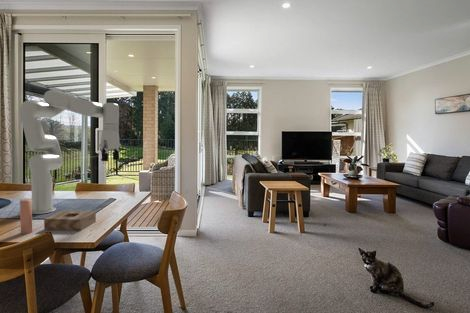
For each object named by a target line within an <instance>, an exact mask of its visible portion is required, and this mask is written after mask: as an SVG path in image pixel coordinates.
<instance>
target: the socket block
mask: <svg viewBox="0 0 470 313" xmlns="http://www.w3.org/2000/svg"><path fill="white" fill-rule="evenodd" d="M43 223H44V224H43V229H44V231H71V232H72V231H76V232H82V231H83V230H84V229H87V228H88V227H89V226H91V225H92V224H94V223H96V211H86V210H85V211H83V210H82V211H81V210H78V211H77V210H62V211H59V212H56V213H55V214H51V215H50V216H48V217H44V219H43Z"/></svg>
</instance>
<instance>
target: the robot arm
mask: <svg viewBox="0 0 470 313" xmlns="http://www.w3.org/2000/svg"><path fill="white" fill-rule="evenodd" d="M43 100H44V101H41V100H35V99H34V100H31V99H30V100H26V101H25V100H24V101H23V102H22V103H21V104H20V106H19V108H18V116H19V121H20V123H21V125H22V128H23V132H24V136H25V140H26V145H27V147H28V149H29V150H30V151H32V152H38V153H37V154H33V155H31V157H30V158H29V160H28V167H29V171H30V179H31V183H30V184H31V185H30V186H31V200H32V215H42V214H50V213H53V212H55V211H57V207H55V206H54V205H53V201H54V200H53V198H54V197H53V196H54V195H53V177H52V173H51V172H50V171H55V170H58V169H60V168H61V167H63V164H64V163H63V162H64V160H63V159H64V158H63V154H62V150H61V146H60V142H59V140H58V138H57V137H56V136H54V135H52V134H46V133H45V132H44V128H43V125H42V123H41V122H40V120H39V119H38V117H39V118H48V119H49V118H50V119H51V118H54V117H56V116H58V115H59V114H61V113H63V112H64V111H69V112H72V113H75V114H78V115H82V116H86V117H93V118H94V117H95V118H102V129H101V135H100V143H99V145H98V146H99V149H100V153H101V162H109V153H108V152H109V150H113V152H112V160H114V161H119V160H120V152H121V146H122V144H121V143H120V133H119V126H120V121H119V120H120V116H119V115H120V107H119V104H118V103H115V102H105V103H101V102H96V101H91V100H87V99H83V98H79V96H77V95H74V94H71V93H68V92H64V91H59V90H55V89H54V90H53V89H49V90H48V91H46V92H44V94H43ZM41 152H44V153H41Z"/></svg>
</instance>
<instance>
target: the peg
mask: <svg viewBox="0 0 470 313" xmlns="http://www.w3.org/2000/svg"><path fill="white" fill-rule="evenodd" d="M19 210H20V212H19V213H20V216H19V217H20V221H19V222H20V234H21V235H29V234H31V233H33V214H32V198H31V199H29V198H26V199H21V200H20V201H19Z"/></svg>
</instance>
